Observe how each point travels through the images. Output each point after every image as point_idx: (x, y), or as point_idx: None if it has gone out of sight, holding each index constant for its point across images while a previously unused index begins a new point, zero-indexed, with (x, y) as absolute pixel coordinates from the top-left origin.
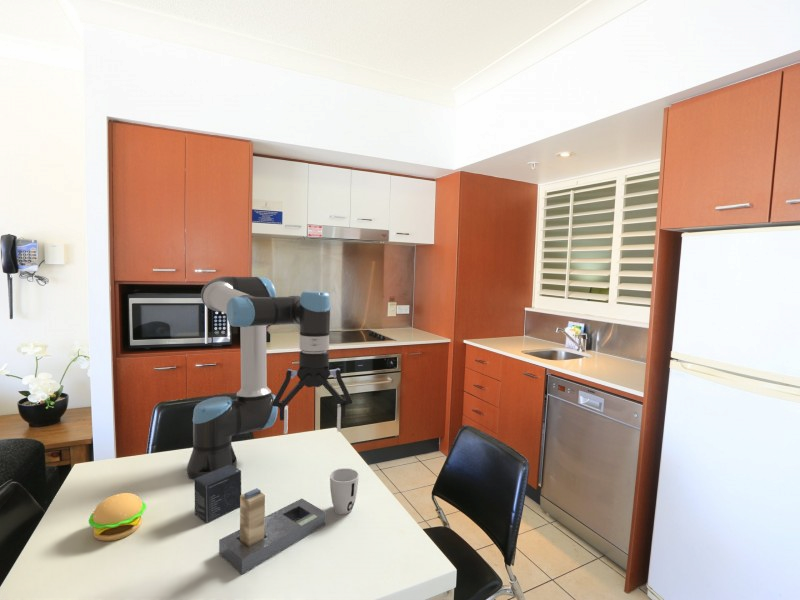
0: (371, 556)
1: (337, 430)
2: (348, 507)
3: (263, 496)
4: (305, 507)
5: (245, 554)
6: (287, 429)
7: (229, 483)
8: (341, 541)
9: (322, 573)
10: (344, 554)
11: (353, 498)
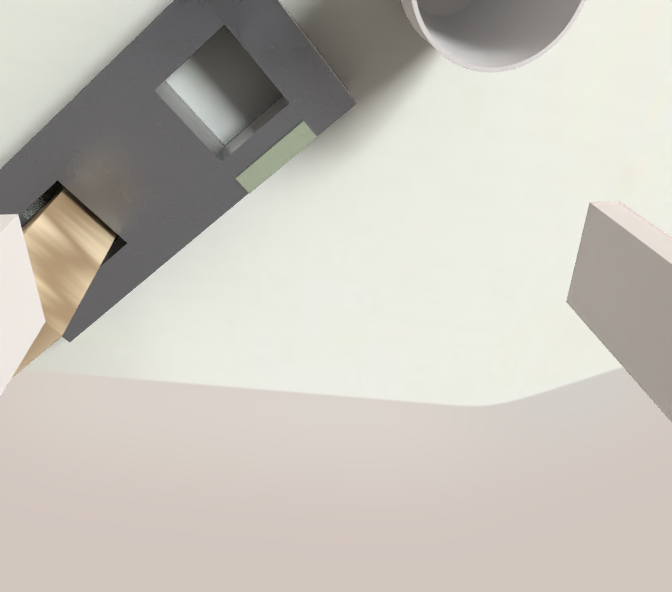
0: (482, 285)
1: (572, 293)
2: (467, 27)
3: (58, 337)
4: (259, 45)
5: (72, 322)
6: (18, 238)
7: None
8: (400, 203)
9: (328, 333)
10: (401, 267)
11: (505, 24)
